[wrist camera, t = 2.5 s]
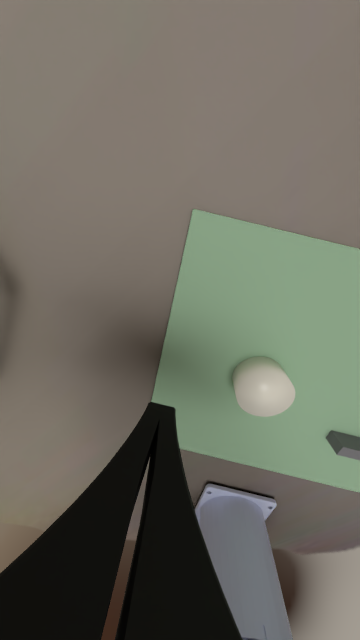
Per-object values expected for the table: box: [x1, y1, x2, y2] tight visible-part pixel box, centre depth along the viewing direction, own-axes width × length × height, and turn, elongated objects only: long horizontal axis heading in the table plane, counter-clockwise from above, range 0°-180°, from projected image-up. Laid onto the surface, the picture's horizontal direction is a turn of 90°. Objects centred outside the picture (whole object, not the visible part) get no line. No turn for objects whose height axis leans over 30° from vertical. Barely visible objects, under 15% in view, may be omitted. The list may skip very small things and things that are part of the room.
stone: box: [232, 356, 295, 417], centre depth 14 cm, size 4×4×2 cm
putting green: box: [151, 209, 360, 493], centre depth 16 cm, size 21×26×1 cm
